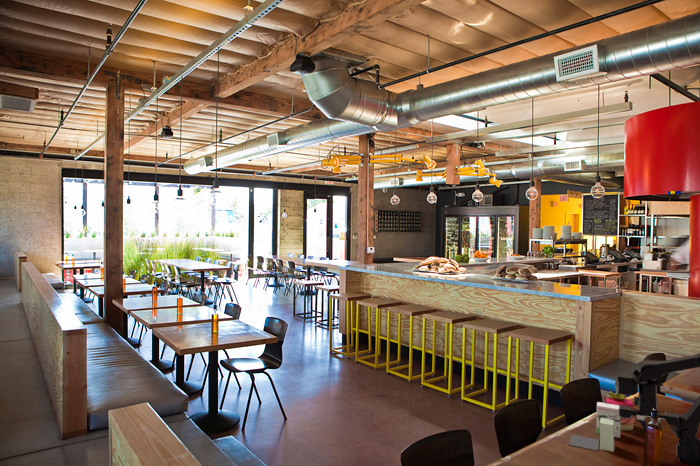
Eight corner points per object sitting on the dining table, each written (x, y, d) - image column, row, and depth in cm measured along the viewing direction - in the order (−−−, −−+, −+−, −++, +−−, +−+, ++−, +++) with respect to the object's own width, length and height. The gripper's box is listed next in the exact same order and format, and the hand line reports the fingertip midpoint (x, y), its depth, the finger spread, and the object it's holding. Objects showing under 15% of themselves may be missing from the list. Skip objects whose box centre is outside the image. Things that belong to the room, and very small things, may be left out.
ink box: (596, 433, 190) (596, 405, 190) (596, 429, 194) (596, 401, 194) (620, 438, 185) (620, 408, 186) (620, 433, 190) (620, 405, 190)
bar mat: (599, 440, 183) (599, 439, 183) (597, 451, 174) (597, 450, 174) (571, 435, 188) (571, 434, 188) (568, 445, 179) (568, 444, 179)
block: (614, 445, 178) (613, 420, 179) (613, 451, 173) (613, 425, 173) (600, 443, 181) (600, 417, 181) (600, 449, 176) (599, 422, 176)
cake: (609, 419, 205) (608, 385, 206) (636, 425, 198) (635, 390, 199) (603, 426, 197) (603, 391, 198) (632, 432, 190) (631, 396, 191)
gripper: (676, 394, 172) (677, 435, 172) (619, 386, 182) (619, 426, 182) (679, 403, 163) (680, 447, 163) (618, 394, 173) (619, 436, 172)
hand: (648, 438), depth 170 cm, fingers closed
